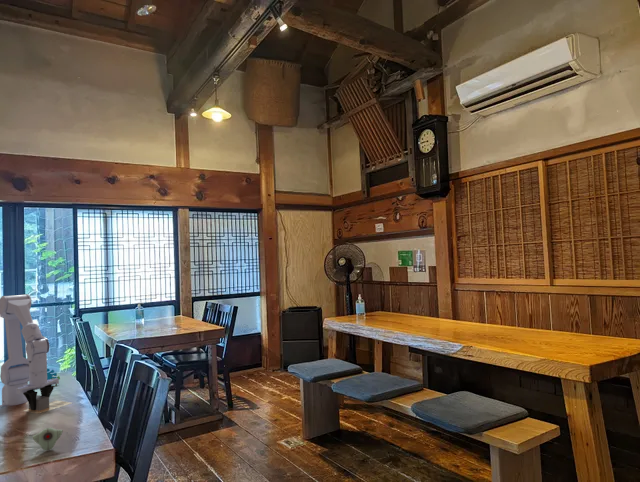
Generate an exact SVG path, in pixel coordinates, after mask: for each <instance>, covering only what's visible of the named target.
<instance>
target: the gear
mask: <svg viewBox="0 0 640 482" xmlns="http://www.w3.org/2000/svg"><path fill="white" fill-rule="evenodd" d="M55 378H58V379H59V380H61V378H60V376H59V375H58V373H57V372H55V370H54V369H51V370H50V368H47V380H50V379H55Z"/></svg>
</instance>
